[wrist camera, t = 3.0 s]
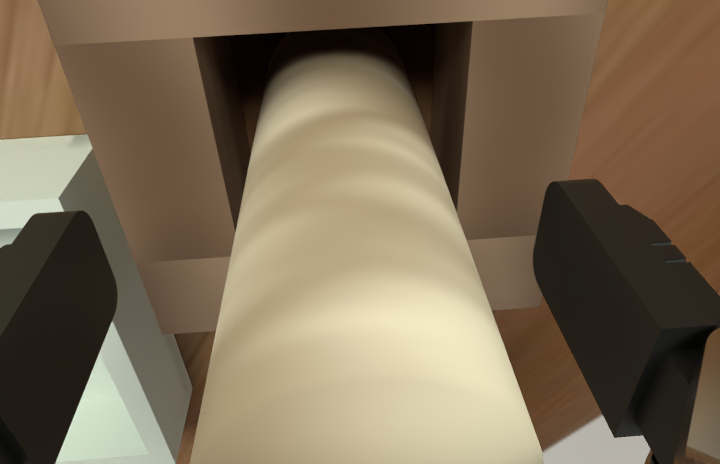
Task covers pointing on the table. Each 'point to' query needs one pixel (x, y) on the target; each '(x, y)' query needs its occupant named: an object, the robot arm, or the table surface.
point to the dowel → (353, 284)
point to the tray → (129, 325)
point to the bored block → (230, 143)
